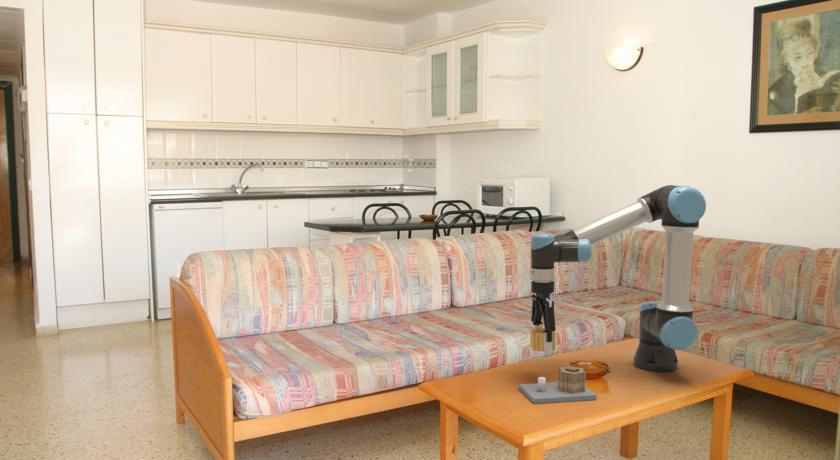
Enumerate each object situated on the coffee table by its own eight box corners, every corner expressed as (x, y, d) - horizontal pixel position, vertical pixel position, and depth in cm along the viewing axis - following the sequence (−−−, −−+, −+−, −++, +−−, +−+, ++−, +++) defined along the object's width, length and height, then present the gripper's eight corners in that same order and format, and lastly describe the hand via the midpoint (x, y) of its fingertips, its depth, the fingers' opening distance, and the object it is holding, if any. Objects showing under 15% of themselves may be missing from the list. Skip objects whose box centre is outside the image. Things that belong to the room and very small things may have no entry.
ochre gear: (550, 344, 234) (550, 327, 233) (559, 350, 225) (559, 333, 225) (526, 346, 232) (526, 328, 231) (535, 352, 224) (535, 334, 223)
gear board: (577, 385, 223) (577, 360, 222) (596, 399, 209) (597, 373, 208) (518, 389, 219) (519, 364, 218) (534, 403, 205) (534, 377, 204)
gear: (578, 383, 220) (579, 365, 219) (590, 392, 211) (590, 373, 211) (553, 385, 218) (554, 366, 217) (564, 393, 210) (564, 374, 209)
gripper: (521, 276, 236) (521, 340, 238) (543, 286, 215) (544, 357, 218) (541, 275, 238) (542, 339, 240) (566, 285, 217) (566, 355, 219)
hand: (543, 347), depth 229 cm, fingers closed on ochre gear, 8 cm apart
